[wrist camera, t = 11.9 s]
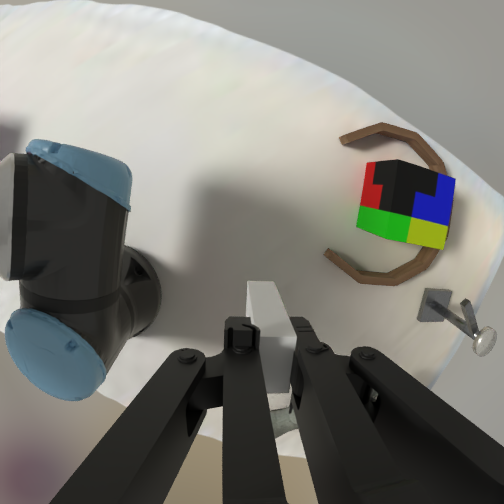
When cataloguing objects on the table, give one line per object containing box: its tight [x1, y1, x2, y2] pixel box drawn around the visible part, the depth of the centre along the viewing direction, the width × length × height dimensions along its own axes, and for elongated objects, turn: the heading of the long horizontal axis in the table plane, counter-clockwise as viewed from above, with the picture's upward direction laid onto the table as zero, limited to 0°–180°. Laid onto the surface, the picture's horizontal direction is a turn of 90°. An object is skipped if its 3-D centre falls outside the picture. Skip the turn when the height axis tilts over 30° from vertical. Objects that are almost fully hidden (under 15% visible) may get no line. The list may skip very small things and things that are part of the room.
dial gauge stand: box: [417, 288, 497, 357], centre depth 41 cm, size 8×8×16 cm
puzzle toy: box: [356, 159, 456, 250], centre depth 40 cm, size 10×10×10 cm
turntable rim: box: [324, 122, 453, 286], centre depth 43 cm, size 24×21×3 cm
